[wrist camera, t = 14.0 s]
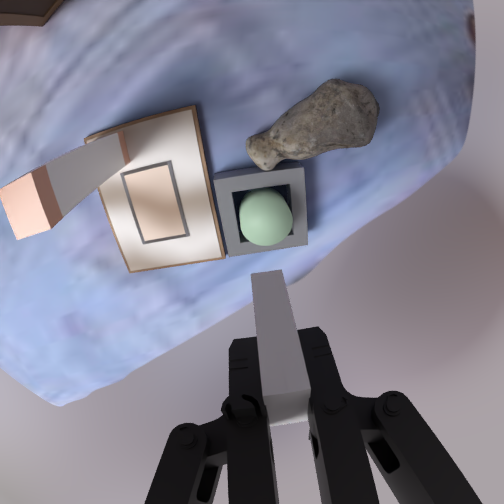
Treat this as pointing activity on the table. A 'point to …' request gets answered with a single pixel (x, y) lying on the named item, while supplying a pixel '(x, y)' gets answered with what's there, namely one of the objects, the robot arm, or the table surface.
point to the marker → (61, 184)
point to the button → (265, 216)
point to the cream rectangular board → (162, 194)
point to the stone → (318, 125)
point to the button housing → (257, 179)
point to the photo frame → (27, 12)
